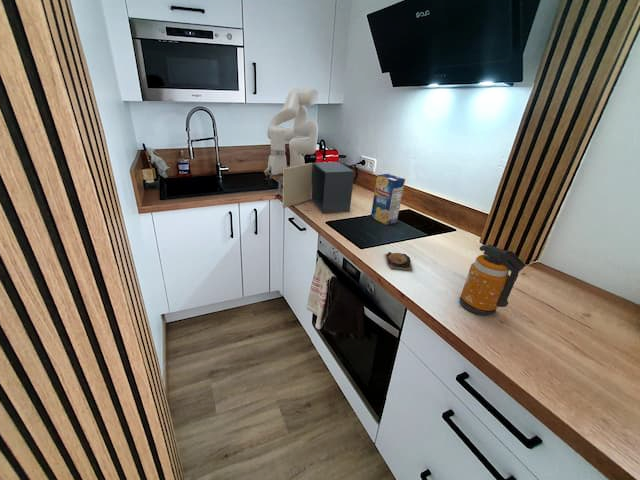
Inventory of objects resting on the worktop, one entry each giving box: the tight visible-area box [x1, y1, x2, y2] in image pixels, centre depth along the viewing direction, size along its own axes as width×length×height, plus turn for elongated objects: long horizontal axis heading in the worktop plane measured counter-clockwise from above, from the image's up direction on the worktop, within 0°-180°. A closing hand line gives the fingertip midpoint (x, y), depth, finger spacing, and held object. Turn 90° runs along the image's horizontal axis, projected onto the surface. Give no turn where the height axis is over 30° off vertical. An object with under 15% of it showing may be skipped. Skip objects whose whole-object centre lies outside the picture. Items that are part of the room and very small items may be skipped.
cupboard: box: [310, 161, 355, 214], centre depth 157 cm, size 15×22×22 cm
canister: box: [459, 243, 527, 316], centre depth 80 cm, size 9×11×20 cm
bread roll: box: [385, 251, 413, 272], centre depth 106 cm, size 11×8×4 cm
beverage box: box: [370, 173, 406, 226], centre depth 138 cm, size 7×11×22 cm, turn 26°
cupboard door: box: [277, 162, 314, 209], centre depth 160 cm, size 7×22×22 cm, turn 133°
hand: (277, 183), depth 157 cm, fingers open, 9 cm apart
